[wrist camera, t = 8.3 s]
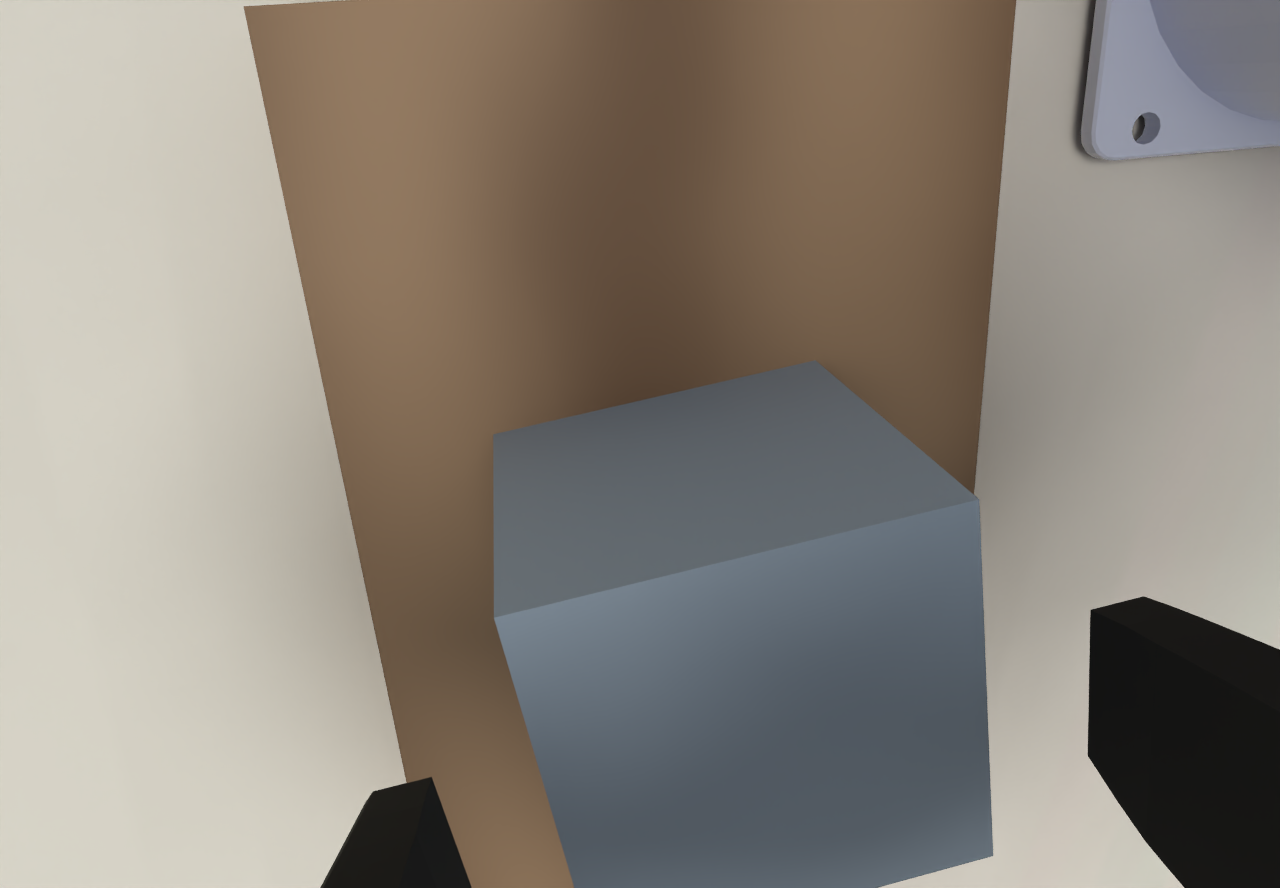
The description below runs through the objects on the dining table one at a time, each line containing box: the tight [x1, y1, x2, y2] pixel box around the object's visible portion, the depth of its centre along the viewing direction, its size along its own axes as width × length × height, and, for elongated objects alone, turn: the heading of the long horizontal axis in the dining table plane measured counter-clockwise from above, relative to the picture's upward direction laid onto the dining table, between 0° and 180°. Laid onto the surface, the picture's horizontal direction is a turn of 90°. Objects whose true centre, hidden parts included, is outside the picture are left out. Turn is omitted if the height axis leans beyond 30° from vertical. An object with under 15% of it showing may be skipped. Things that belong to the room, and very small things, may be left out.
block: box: [493, 360, 993, 888], centre depth 12 cm, size 5×5×5 cm
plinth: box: [244, 0, 1016, 888], centre depth 16 cm, size 10×16×3 cm, turn 4°
